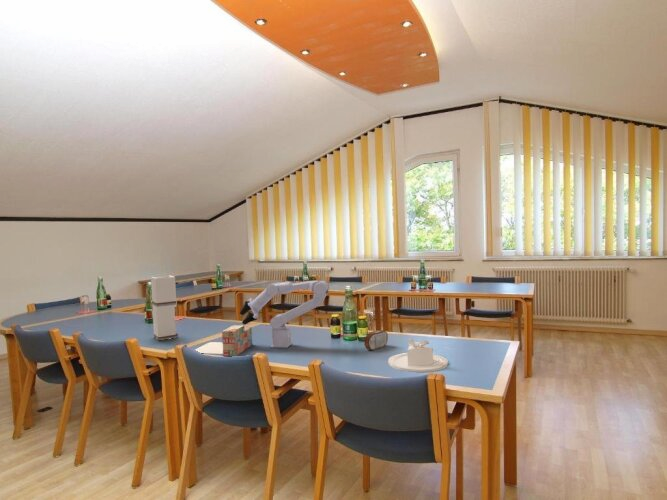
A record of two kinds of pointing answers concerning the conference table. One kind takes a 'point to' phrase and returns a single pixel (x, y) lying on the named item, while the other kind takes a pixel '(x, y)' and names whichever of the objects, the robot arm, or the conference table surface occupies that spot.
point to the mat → (211, 348)
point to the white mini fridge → (164, 307)
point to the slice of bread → (376, 339)
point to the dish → (418, 359)
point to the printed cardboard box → (236, 339)
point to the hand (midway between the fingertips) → (242, 318)
